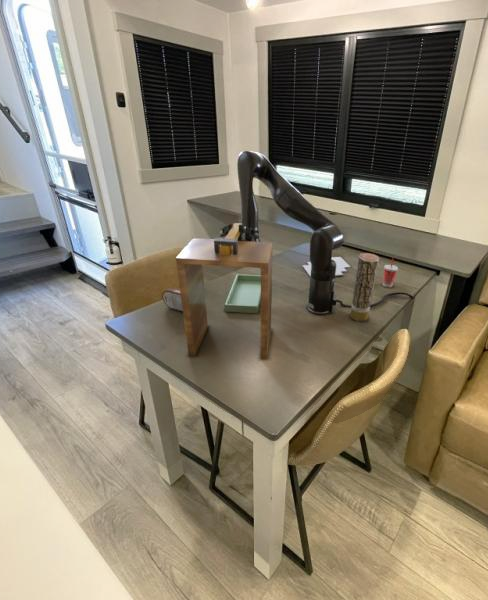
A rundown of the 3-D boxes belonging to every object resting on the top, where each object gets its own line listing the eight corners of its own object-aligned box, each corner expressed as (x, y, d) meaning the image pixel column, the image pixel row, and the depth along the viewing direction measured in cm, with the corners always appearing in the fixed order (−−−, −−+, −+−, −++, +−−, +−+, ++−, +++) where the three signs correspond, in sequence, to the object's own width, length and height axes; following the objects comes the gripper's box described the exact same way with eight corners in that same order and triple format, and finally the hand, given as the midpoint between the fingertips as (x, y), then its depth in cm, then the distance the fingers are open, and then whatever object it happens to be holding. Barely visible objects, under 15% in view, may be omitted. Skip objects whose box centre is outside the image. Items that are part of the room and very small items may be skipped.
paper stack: (296, 259, 173) (296, 258, 173) (340, 256, 181) (340, 255, 180) (310, 278, 154) (310, 277, 154) (358, 274, 161) (359, 273, 161)
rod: (241, 230, 109) (241, 223, 107) (229, 255, 89) (229, 246, 88) (234, 230, 108) (234, 223, 107) (220, 254, 89) (220, 246, 88)
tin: (201, 312, 123) (199, 292, 118) (196, 316, 120) (194, 296, 116) (168, 303, 126) (164, 284, 122) (162, 307, 124) (159, 287, 120)
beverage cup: (393, 282, 156) (399, 255, 149) (394, 288, 150) (401, 260, 144) (380, 281, 156) (385, 253, 149) (381, 287, 151) (387, 258, 144)
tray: (236, 280, 148) (236, 274, 146) (264, 281, 148) (264, 275, 147) (225, 311, 124) (224, 304, 123) (257, 313, 125) (257, 306, 123)
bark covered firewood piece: (367, 323, 123) (379, 261, 111) (349, 320, 124) (358, 258, 112) (368, 314, 129) (379, 254, 117) (350, 311, 130) (360, 252, 118)
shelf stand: (271, 329, 116) (272, 231, 99) (267, 358, 102) (268, 250, 85) (202, 326, 115) (191, 226, 97) (188, 355, 101) (173, 244, 84)
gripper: (224, 227, 119) (213, 214, 102) (262, 229, 120) (258, 216, 103) (223, 247, 119) (211, 238, 102) (261, 249, 120) (256, 240, 103)
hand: (235, 227), depth 102 cm, fingers closed on rod, 2 cm apart
